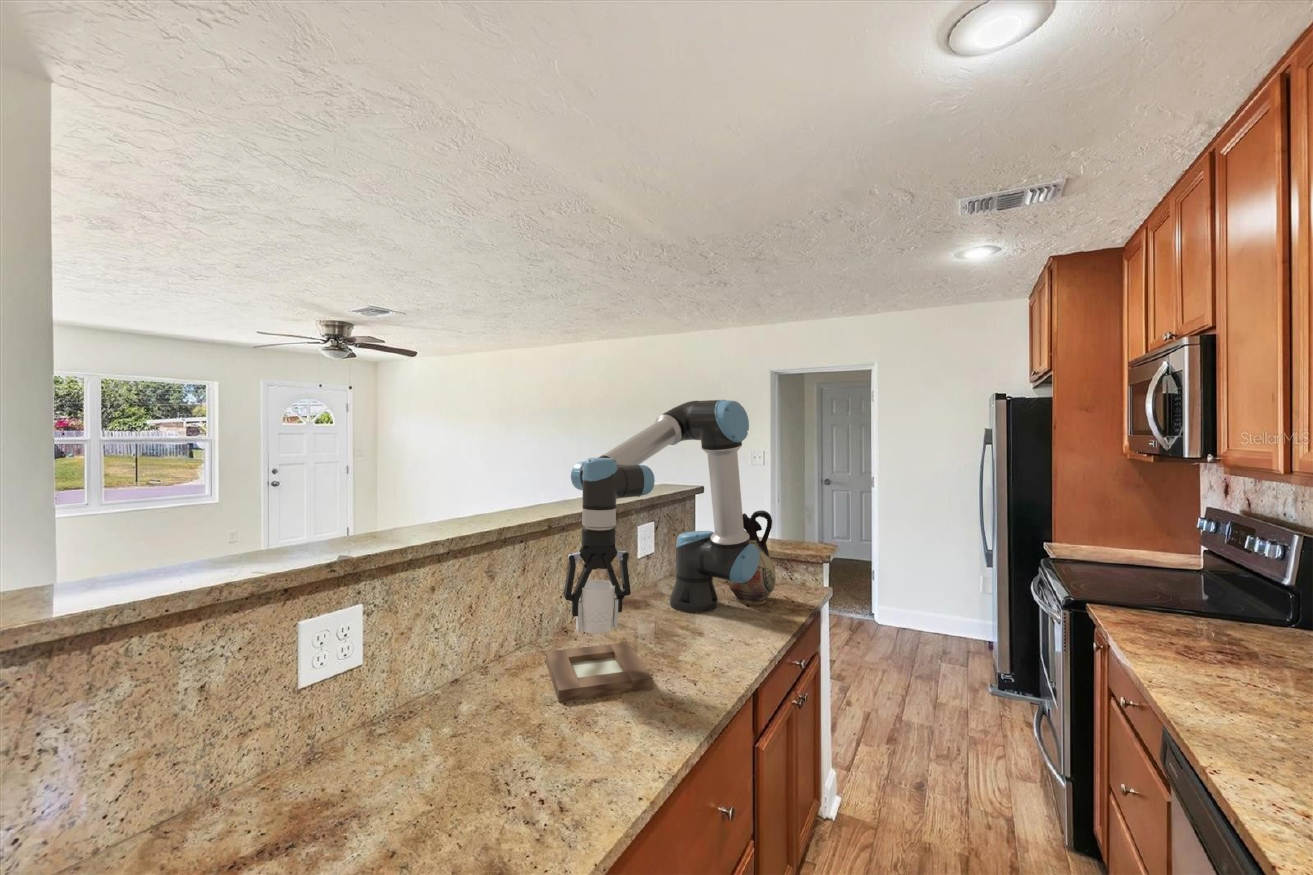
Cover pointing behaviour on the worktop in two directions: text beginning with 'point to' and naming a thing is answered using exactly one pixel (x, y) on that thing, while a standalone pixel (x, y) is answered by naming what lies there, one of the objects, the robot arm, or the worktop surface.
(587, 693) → the wooden picture frame
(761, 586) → the ceramic jug
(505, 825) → the worktop surface
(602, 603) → the white cup
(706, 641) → the worktop surface
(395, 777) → the worktop surface
